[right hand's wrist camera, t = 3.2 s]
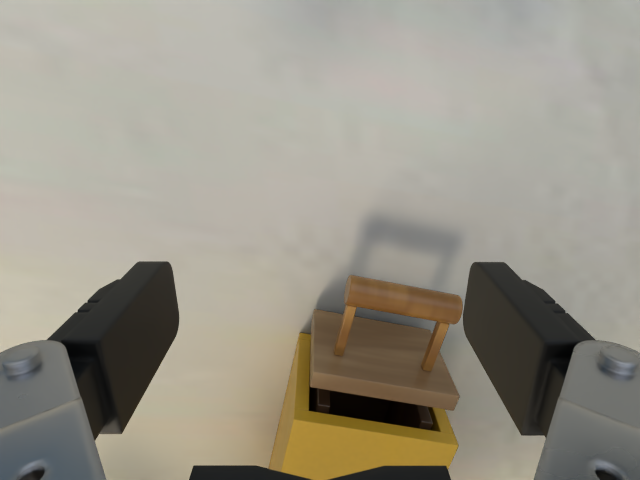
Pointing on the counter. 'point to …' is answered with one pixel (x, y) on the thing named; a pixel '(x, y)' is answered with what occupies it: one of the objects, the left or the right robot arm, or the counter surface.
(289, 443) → the cabinet
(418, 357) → the drawer
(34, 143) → the counter surface
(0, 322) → the counter surface
